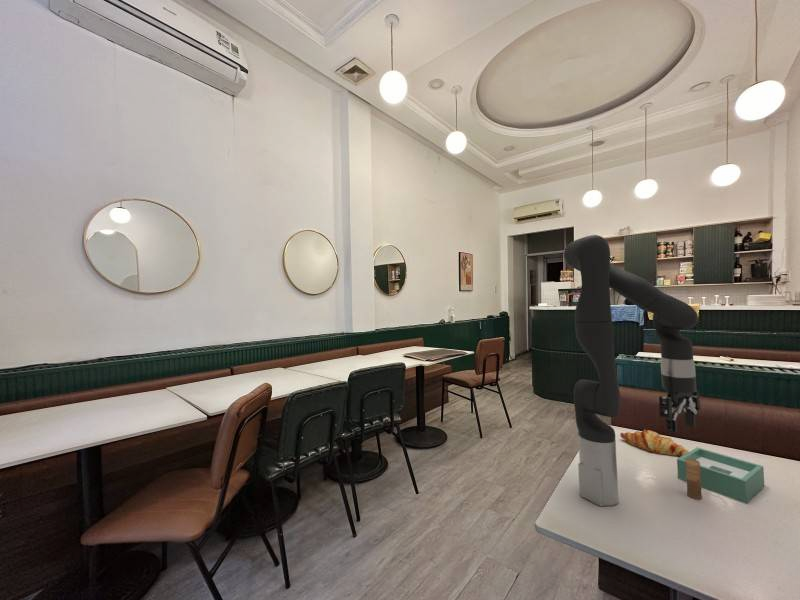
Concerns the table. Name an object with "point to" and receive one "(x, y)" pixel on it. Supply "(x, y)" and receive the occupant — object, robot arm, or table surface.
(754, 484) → the box
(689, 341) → the robot arm
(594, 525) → the table surface
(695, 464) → the peg
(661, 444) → the croissant
